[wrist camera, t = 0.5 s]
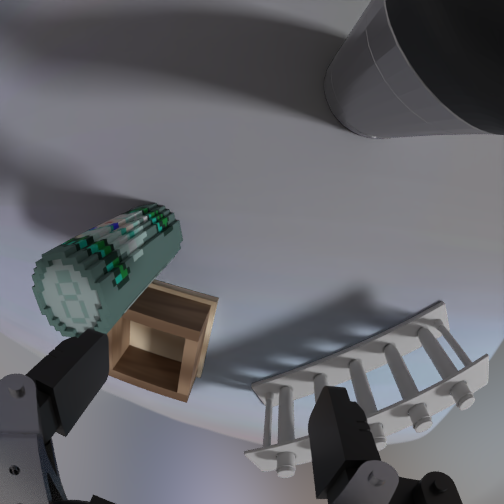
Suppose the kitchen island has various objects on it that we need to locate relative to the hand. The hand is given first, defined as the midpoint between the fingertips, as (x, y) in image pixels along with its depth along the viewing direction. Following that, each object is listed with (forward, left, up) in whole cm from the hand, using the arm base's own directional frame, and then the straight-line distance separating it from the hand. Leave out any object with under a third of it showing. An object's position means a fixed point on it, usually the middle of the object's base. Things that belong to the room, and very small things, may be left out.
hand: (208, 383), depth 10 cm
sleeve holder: (+13, -7, -20) cm, 25 cm away
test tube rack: (+12, +15, -21) cm, 28 cm away
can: (+3, -10, -21) cm, 23 cm away
